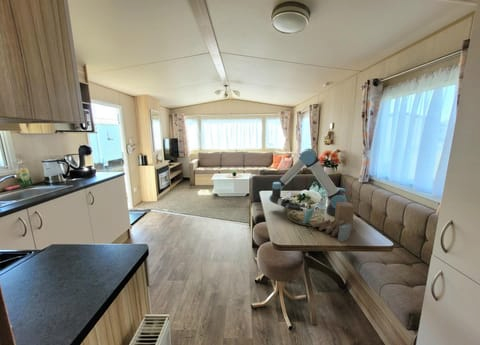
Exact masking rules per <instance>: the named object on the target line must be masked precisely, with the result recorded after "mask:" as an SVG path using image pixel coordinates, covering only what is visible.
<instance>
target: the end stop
mask: <svg viewBox="0 0 480 345" xmlns="http://www.w3.org/2000/svg"><path fill="white" fill-rule="evenodd" d="M350 228H351V224H349V223H345V224H343V225H341V226H339V234H338V235H337V241H339V242H345V241H347V240H348V239H349V238H350V235H351V233H350Z"/></svg>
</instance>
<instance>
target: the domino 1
mask: <svg viewBox="0 0 480 345" xmlns="http://www.w3.org/2000/svg"><path fill="white" fill-rule="evenodd" d="M314 211H315V210H314V208H309V209H308V210H307V211H306V213H305V214H304V217H303V220H302V224H303V223H304V224H303V225H306V224H308V223H310V221H311V218H312V215H313V214H314ZM305 223H306V224H305Z"/></svg>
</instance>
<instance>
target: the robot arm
mask: <svg viewBox="0 0 480 345" xmlns="http://www.w3.org/2000/svg"><path fill="white" fill-rule="evenodd" d="M320 161H321V160H320V159H319V157H318V155H317V152H316V150H314V149H313V148H306V149H304V150H303V151H302V152H301V153H300V156H299V157H298V160H297V161H296V162H295V163H294V164H293V165H292V166H291V167H290V168H289V169H288V170H287V171H286V172H285V174H283V175H282V176H281V177H280V179H278V180H277V181H273V182H272V186H271V187H272V188H271V189H272V191H271V192H272V193H271V194H270V196H269V202H271V203H272V204H274V205H278V206H280V207H282V208H284V209H289V210H293V211H298V212H303V213H305V214H306V211H307V210H309V209H308V208H306V207H304V206H303V205H301V204H299V203H297V202H296V201H295V202H292V201H291V200H290V199H289V198H286V197H284V196H283V197H282V196H281V195H282V194H281V192H282V190H283V188H284V187H285V186H287V184H288V183H289V182H290V181H291V180H292V179H293V178H294V177H296V175H297V174H298V173H299V172H300V171H301V170H302V169H303V168H304V167H305V166H306V168H307V169H308V170H310V171H311V172H312V174H313V176H314V177H315V179H316V180H317V181H318V183H319V184H320V185H321V187H322V189H323V190H324V191H325V192H326V195H325V196H326V198H327V199H328V201H329V202H328V205H327V207H326V211H325V213H327V214H328V215H330V216H332V217H333V216H334V217H335V209H336V202H348V199H347V198H346V197H347V196H346V191H347V190H346V189H345V188H344V187H343V188H342V187H337V186H336V185H335V183H334V182H333V181H332V179H331V178H330V176H329V175H328V173H327V172H326V170H325V169H324V167H323V166H322V165H321V163H320Z"/></svg>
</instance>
